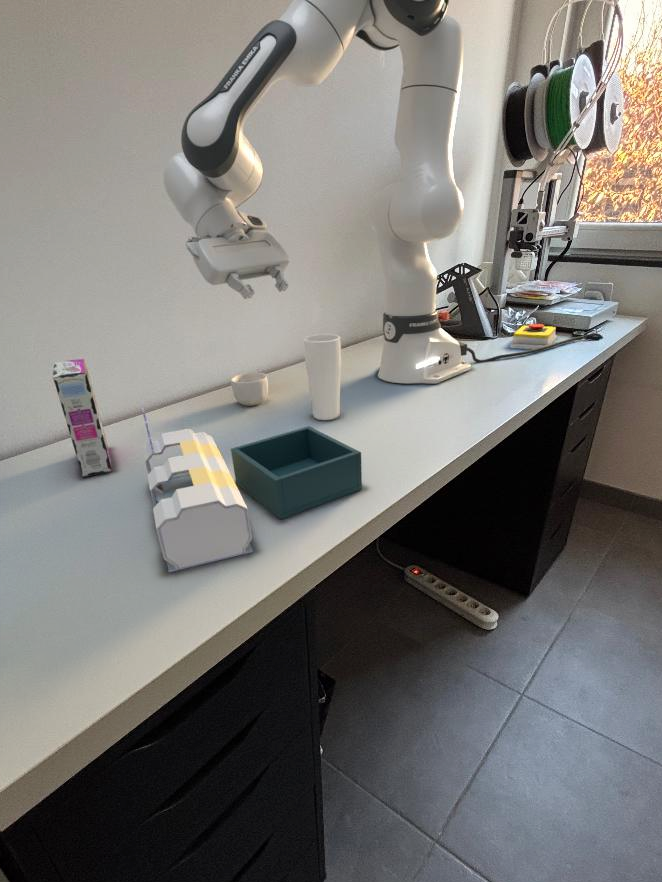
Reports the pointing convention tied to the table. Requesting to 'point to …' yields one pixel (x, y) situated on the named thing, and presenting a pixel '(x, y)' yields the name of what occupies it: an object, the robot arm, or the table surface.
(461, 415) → the table surface
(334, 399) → the drinking glass
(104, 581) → the table surface
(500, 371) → the table surface
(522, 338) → the emergency button
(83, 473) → the candy bar box
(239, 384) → the teacup
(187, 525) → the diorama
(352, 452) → the bin
